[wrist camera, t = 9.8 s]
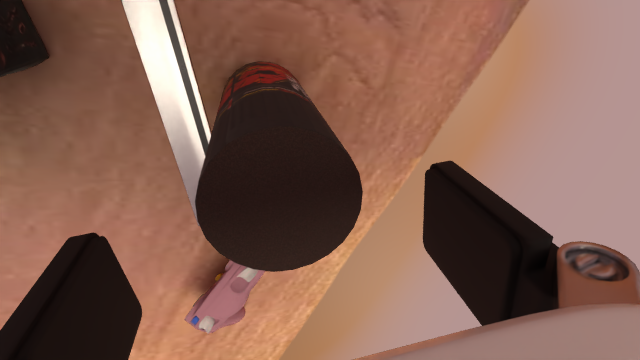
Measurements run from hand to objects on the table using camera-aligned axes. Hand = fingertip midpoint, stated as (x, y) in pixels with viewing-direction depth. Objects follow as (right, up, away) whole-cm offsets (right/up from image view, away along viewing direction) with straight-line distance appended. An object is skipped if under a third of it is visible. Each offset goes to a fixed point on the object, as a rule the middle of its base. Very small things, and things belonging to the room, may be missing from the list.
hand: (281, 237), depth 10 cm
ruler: (-9, +8, +14) cm, 18 cm away
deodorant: (-3, +7, +15) cm, 17 cm away
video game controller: (-6, -6, +21) cm, 23 cm away
